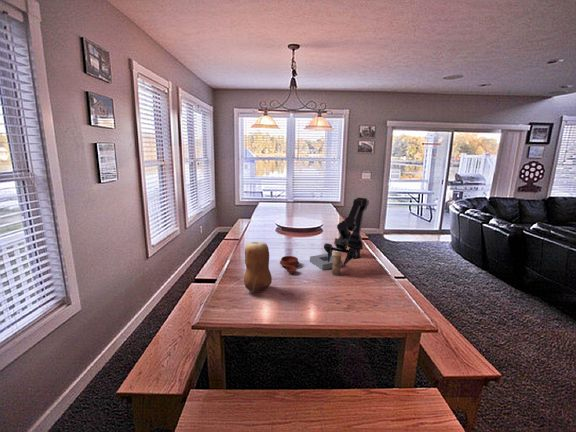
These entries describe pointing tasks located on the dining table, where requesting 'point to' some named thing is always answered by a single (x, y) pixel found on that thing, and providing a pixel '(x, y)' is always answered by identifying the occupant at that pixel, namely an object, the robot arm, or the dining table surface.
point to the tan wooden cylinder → (336, 263)
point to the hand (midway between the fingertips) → (335, 263)
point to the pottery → (289, 263)
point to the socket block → (322, 261)
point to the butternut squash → (257, 267)
